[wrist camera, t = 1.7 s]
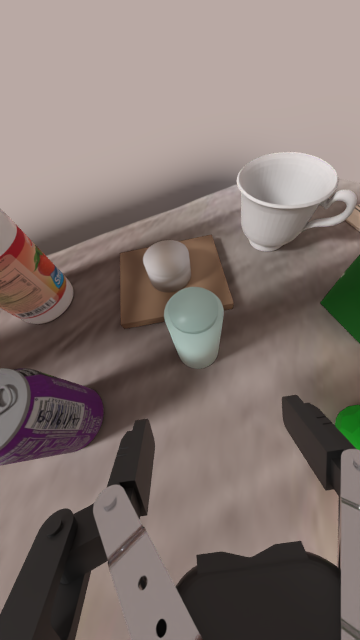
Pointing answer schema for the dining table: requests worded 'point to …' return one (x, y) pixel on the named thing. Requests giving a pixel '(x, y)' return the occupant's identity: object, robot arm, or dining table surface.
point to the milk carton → (346, 300)
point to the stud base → (155, 301)
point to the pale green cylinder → (195, 325)
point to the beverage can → (44, 415)
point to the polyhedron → (350, 424)
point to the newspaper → (355, 218)
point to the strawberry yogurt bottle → (29, 278)
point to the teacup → (287, 197)
